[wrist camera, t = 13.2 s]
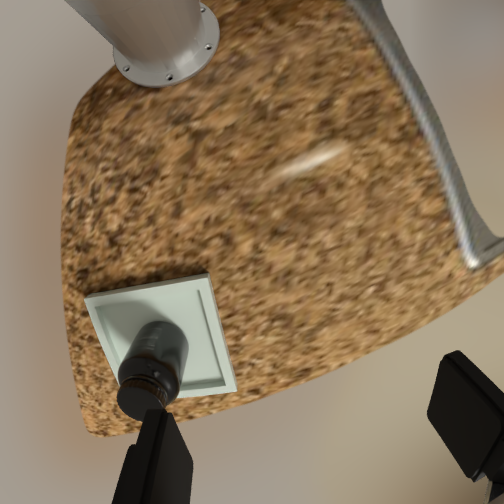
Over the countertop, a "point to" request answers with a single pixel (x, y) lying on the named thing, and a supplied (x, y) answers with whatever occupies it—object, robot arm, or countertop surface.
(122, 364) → the supplement bottle
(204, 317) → the sage tray
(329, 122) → the countertop surface
